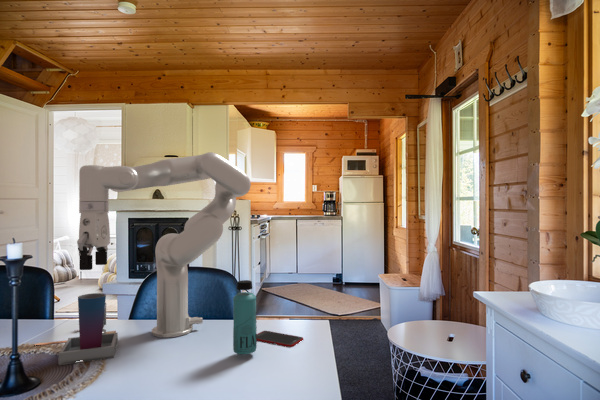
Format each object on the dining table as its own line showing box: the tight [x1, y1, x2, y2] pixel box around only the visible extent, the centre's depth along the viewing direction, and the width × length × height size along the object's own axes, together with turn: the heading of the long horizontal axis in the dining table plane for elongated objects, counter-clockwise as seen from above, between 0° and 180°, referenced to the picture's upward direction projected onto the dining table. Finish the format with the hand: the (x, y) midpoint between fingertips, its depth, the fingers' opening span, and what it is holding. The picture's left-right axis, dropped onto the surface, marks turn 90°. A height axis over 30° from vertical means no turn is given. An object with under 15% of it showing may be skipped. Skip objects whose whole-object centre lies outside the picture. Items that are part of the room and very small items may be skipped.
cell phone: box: [256, 330, 304, 348], centre depth 115 cm, size 8×15×1 cm, turn 61°
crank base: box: [34, 330, 117, 347], centre depth 114 cm, size 21×8×1 cm, turn 111°
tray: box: [58, 332, 119, 366], centre depth 104 cm, size 13×13×3 cm
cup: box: [77, 292, 107, 350], centre depth 105 cm, size 7×7×15 cm
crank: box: [102, 302, 107, 334], centre depth 122 cm, size 16×5×7 cm, turn 21°
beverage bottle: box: [232, 279, 258, 355], centre depth 102 cm, size 6×7×20 cm
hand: (93, 267), depth 110 cm, fingers open, 9 cm apart
